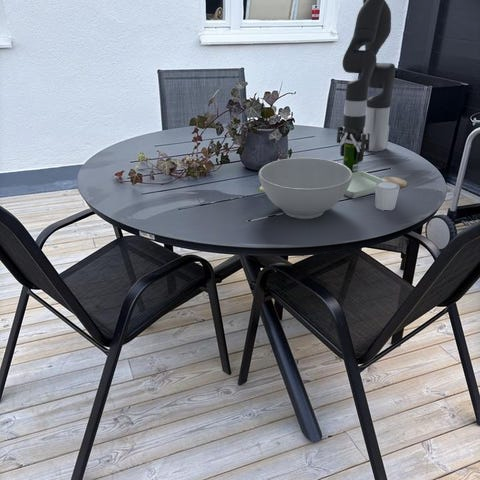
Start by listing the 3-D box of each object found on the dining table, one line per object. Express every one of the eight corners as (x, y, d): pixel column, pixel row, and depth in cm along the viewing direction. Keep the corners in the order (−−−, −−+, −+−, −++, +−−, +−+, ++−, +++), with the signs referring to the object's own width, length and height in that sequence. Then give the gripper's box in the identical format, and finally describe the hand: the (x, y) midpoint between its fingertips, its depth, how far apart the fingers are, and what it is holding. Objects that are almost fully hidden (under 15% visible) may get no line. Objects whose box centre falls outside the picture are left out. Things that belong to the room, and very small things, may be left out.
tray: (361, 176, 162) (361, 170, 161) (390, 188, 151) (391, 182, 150) (324, 185, 156) (325, 179, 155) (352, 198, 145) (353, 192, 144)
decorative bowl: (248, 199, 147) (247, 163, 141) (325, 188, 153) (327, 153, 147) (277, 236, 124) (277, 194, 118) (366, 222, 130) (370, 181, 124)
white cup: (384, 213, 135) (387, 191, 131) (368, 205, 140) (370, 183, 137) (401, 208, 137) (405, 186, 134) (385, 200, 143) (388, 179, 139)
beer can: (360, 171, 167) (363, 138, 161) (351, 174, 164) (354, 141, 158) (348, 167, 170) (351, 135, 165) (339, 171, 167) (341, 138, 162)
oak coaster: (392, 176, 161) (392, 175, 160) (412, 184, 154) (412, 183, 153) (373, 181, 157) (373, 180, 157) (392, 190, 150) (392, 188, 150)
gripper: (378, 115, 153) (372, 162, 161) (349, 108, 164) (346, 152, 172) (360, 118, 150) (356, 166, 158) (333, 110, 161) (330, 155, 169)
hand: (351, 158), depth 165 cm, fingers open, 8 cm apart
